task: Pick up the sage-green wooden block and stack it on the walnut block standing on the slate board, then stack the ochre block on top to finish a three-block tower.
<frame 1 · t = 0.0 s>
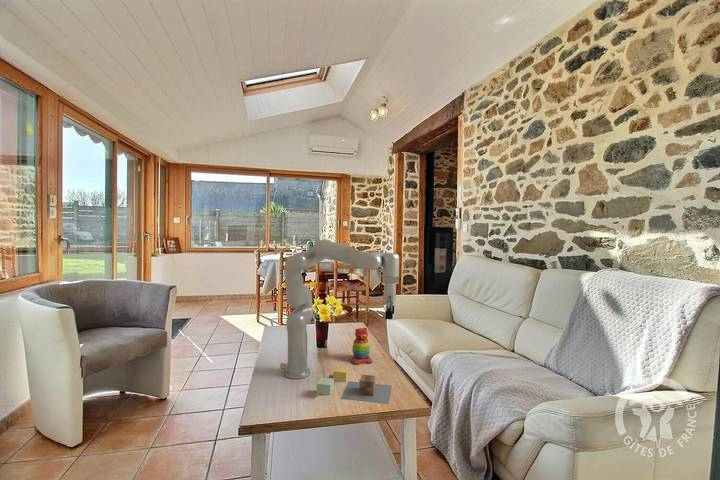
hand: (389, 316, 156), 31 cm above the table, tool pointing down, fingers open, 9 cm apart
ochre block: (341, 381, 158), on the table
slate base board: (367, 395, 145), on the table
walnut base block: (367, 391, 145), point 1 cm above the table, touching slate base board
sage-green block: (325, 394, 145), on the table
stacking bear: (361, 361, 182), on the table
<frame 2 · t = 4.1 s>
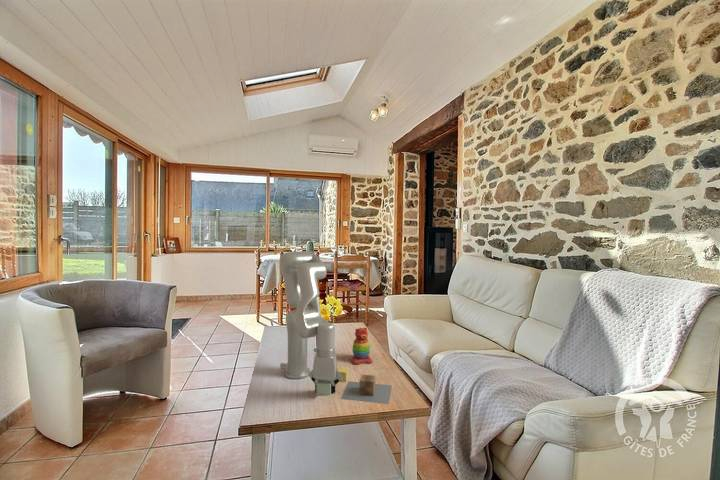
hand: (325, 392, 145), 1 cm above the table, tool pointing down, fingers closed on sage-green block, 6 cm apart
sage-green block: (325, 394, 145), on the table, touching gripper
everything else where it was.
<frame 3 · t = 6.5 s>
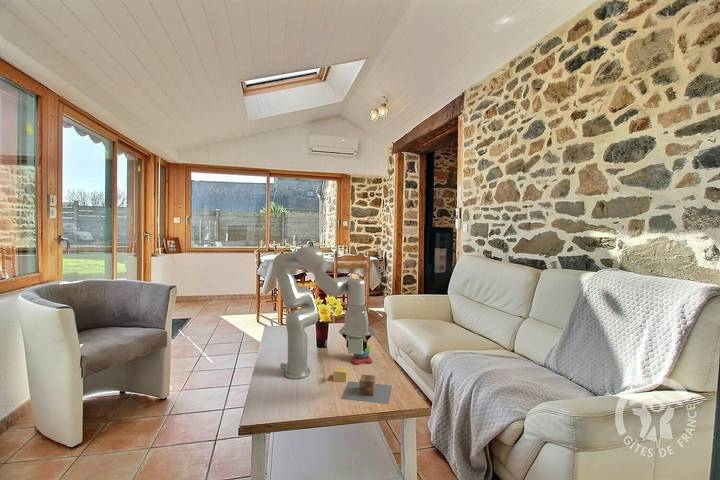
hand: (356, 349, 144), 20 cm above the table, tool pointing down, fingers closed on sage-green block, 6 cm apart
sage-green block: (356, 351, 144), point 19 cm above the table, touching gripper
everything else where it was.
when the fingers open (10 cm above the table, at t = 9.2 s): sage-green block drops 1 cm, resting on walnut base block.
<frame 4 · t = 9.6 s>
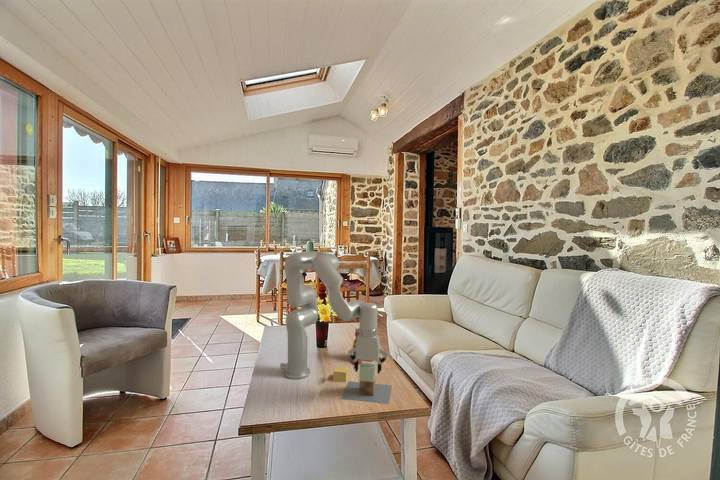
hand: (367, 371, 145), 10 cm above the table, tool pointing down, fingers open, 9 cm apart
walnut base block: (367, 391, 145), point 1 cm above the table, touching sage-green block, slate base board
sage-green block: (367, 378, 145), point 7 cm above the table, touching walnut base block
everything else where it was.
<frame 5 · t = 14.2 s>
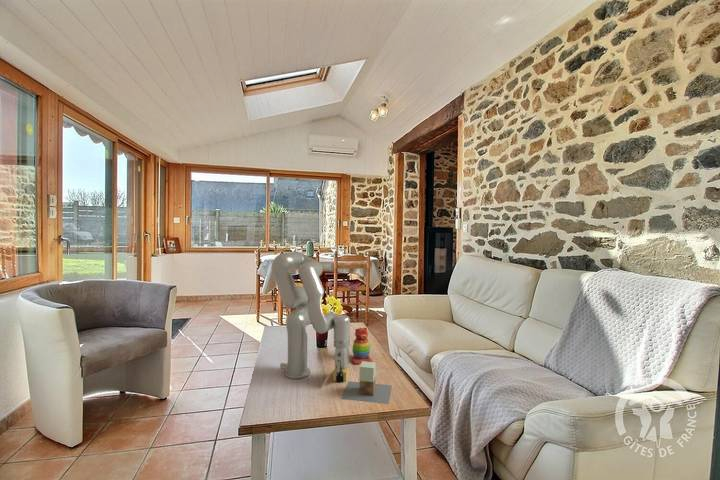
hand: (341, 379, 157), 1 cm above the table, tool pointing down, fingers closed on ochre block, 6 cm apart
ochre block: (341, 381, 157), on the table, touching gripper
everything else where it was.
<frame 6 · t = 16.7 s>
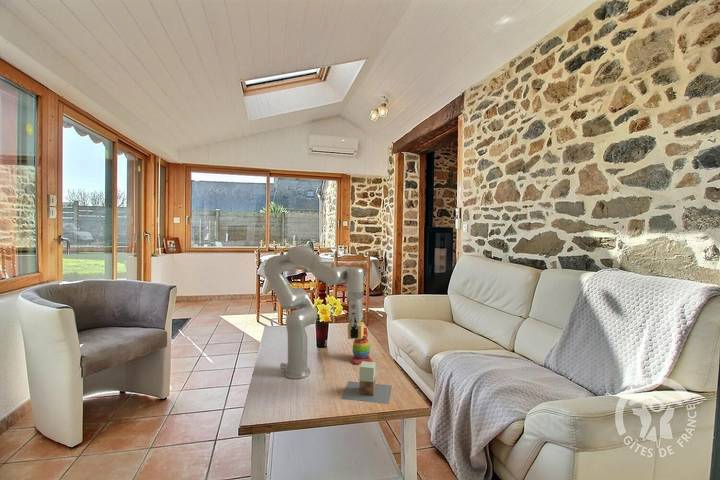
hand: (355, 335, 150), 24 cm above the table, tool pointing down, fingers closed on ochre block, 6 cm apart
ochre block: (355, 337, 150), point 23 cm above the table, touching gripper
everything else where it was.
when the fingers open (16 cm above the table, at t = 19.2 s): ochre block drops 1 cm, resting on sage-green block.
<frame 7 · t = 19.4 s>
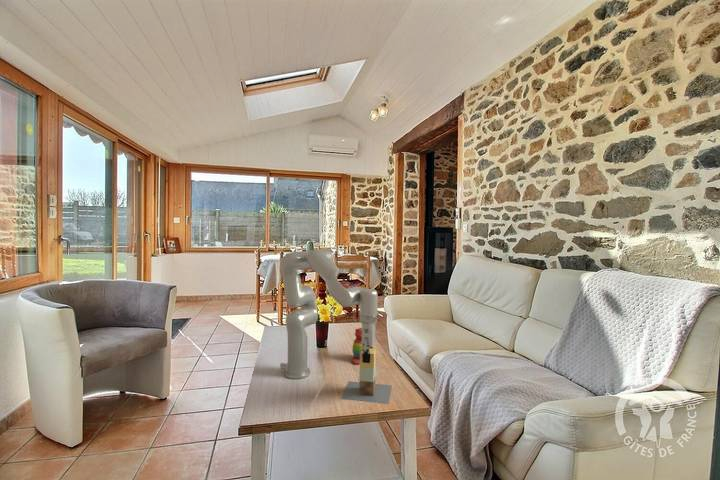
hand: (367, 358, 145), 16 cm above the table, tool pointing down, fingers open, 8 cm apart
ochre block: (367, 364, 145), point 13 cm above the table, touching sage-green block
sage-green block: (367, 378, 145), point 7 cm above the table, touching ochre block, walnut base block
everything else where it was.
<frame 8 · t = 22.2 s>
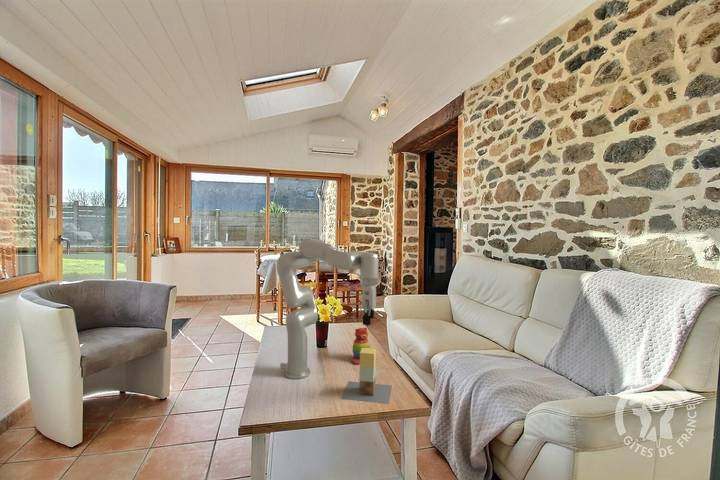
hand: (368, 321, 144), 32 cm above the table, tool pointing down, fingers open, 9 cm apart
nothing on the table moved.
at the end: sage-green block 0.1 cm off-centre on the walnut base block, point 6.0 cm above the walnut base block's base; ochre block 0.1 cm off-centre on the walnut base block, point 12.0 cm above the walnut base block's base; ochre block tilted 0° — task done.
